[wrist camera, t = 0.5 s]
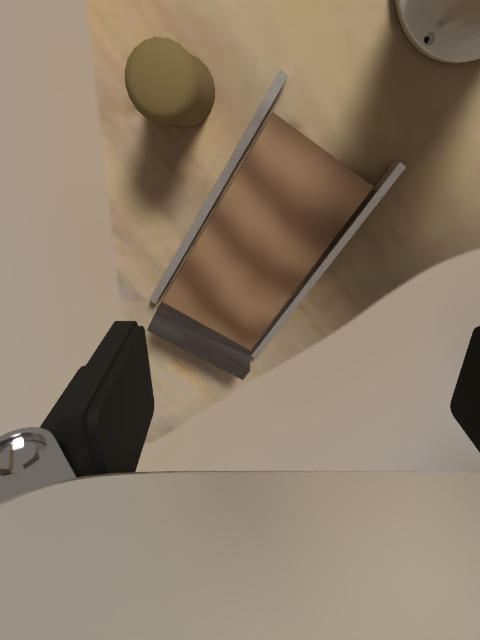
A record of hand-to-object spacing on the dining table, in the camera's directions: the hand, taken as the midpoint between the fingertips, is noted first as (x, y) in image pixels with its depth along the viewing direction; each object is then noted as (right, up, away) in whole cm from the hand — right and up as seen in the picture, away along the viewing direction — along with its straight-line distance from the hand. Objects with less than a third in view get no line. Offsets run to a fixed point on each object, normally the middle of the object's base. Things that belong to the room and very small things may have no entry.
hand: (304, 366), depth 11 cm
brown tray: (0, +9, +31) cm, 32 cm away
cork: (-7, +23, +24) cm, 34 cm away
